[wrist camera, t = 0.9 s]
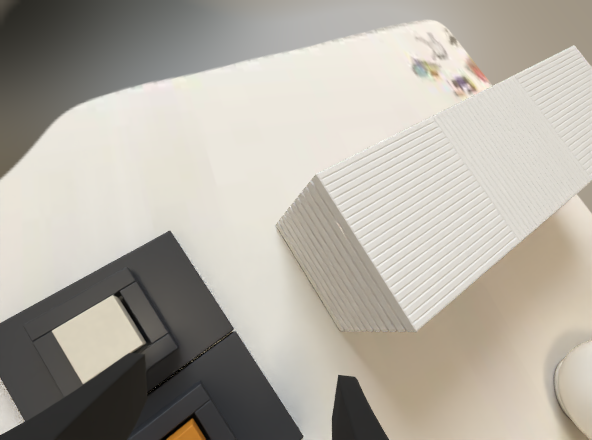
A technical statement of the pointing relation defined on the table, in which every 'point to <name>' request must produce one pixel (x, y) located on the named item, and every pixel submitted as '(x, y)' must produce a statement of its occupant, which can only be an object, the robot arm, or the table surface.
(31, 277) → the table surface
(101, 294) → the keypad
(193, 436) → the amber key
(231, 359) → the keypad
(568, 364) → the trinket box
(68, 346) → the white key
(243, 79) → the table surface
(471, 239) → the stack of papers
